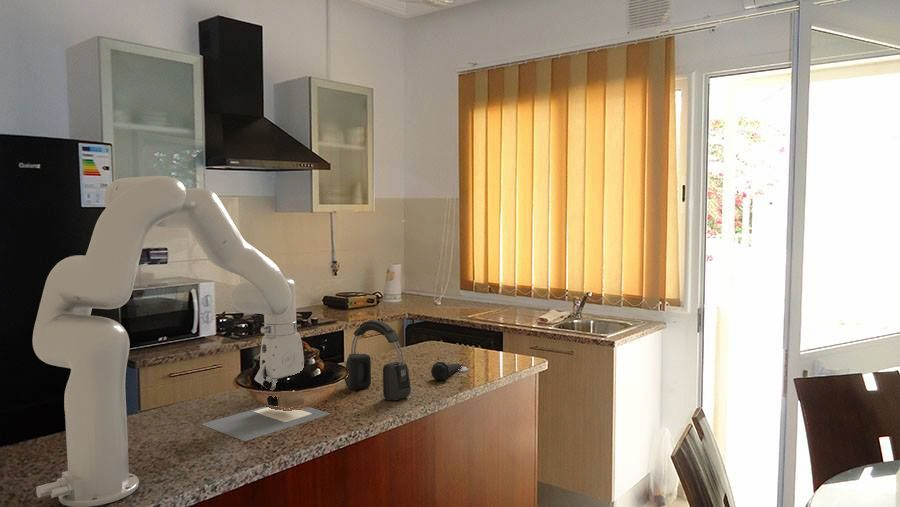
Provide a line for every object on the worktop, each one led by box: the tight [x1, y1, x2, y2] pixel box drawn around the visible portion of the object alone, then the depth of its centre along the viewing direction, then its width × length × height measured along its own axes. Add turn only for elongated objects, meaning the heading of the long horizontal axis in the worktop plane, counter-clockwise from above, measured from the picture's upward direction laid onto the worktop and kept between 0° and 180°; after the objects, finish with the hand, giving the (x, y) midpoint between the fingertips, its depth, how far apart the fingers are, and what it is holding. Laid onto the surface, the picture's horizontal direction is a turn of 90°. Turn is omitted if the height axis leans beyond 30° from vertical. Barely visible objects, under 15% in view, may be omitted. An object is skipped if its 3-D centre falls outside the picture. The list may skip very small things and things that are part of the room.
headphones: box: [344, 319, 412, 401], centre depth 177 cm, size 22×6×20 cm, turn 47°
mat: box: [200, 405, 332, 442], centre depth 154 cm, size 24×18×1 cm
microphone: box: [431, 361, 463, 382], centre depth 197 cm, size 6×6×20 cm
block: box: [278, 391, 305, 409], centre depth 159 cm, size 10×5×4 cm, turn 50°
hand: (282, 402), depth 159 cm, fingers closed on block, 5 cm apart
